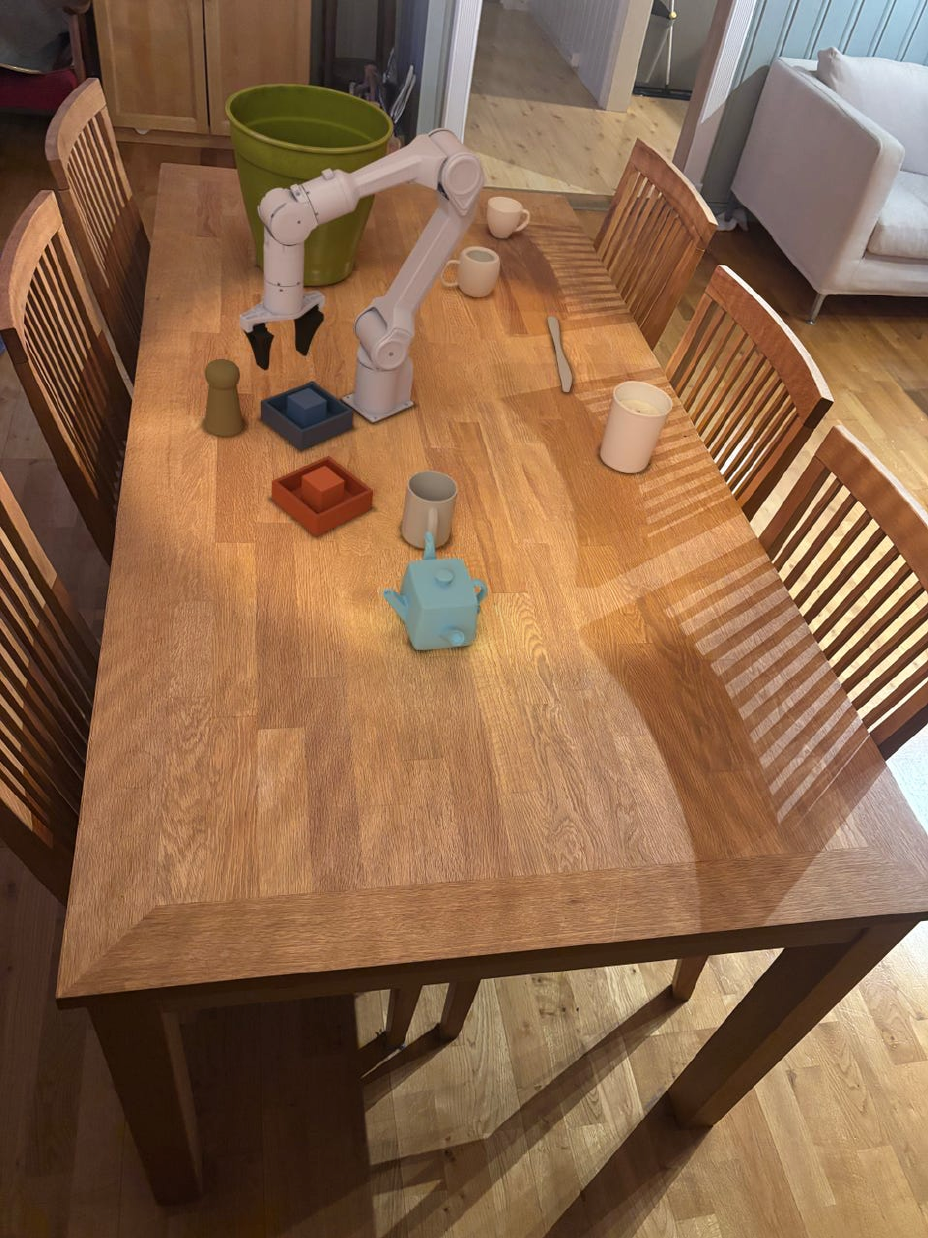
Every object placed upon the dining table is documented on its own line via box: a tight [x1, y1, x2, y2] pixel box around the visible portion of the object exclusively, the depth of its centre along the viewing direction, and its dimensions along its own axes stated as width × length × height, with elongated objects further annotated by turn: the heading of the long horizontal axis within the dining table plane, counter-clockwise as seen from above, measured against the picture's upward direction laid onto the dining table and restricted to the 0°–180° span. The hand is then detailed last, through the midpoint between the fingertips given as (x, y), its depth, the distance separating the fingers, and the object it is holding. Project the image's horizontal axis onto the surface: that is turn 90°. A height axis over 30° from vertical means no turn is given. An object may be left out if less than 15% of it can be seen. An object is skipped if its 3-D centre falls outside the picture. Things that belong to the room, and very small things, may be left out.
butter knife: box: [547, 315, 573, 393], centre depth 184 cm, size 1×27×3 cm
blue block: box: [287, 388, 327, 429], centre depth 155 cm, size 4×4×4 cm
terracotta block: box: [301, 466, 345, 514], centre depth 142 cm, size 4×4×4 cm
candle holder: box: [599, 380, 674, 474], centre depth 160 cm, size 10×10×12 cm
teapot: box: [381, 532, 489, 651], centre depth 126 cm, size 18×14×10 cm
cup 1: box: [400, 469, 459, 550], centre depth 139 cm, size 7×10×9 cm
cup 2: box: [485, 196, 531, 239], centre depth 216 cm, size 8×10×7 cm
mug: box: [439, 245, 501, 298], centre depth 194 cm, size 12×8×8 cm
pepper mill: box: [203, 358, 244, 437], centre depth 150 cm, size 6×6×11 cm
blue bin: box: [260, 380, 355, 452], centre depth 156 cm, size 11×10×4 cm
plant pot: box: [224, 83, 394, 287], centre depth 184 cm, size 30×30×29 cm
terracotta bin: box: [271, 455, 374, 537], centre depth 143 cm, size 11×10×4 cm
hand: (282, 359), depth 150 cm, fingers open, 7 cm apart
